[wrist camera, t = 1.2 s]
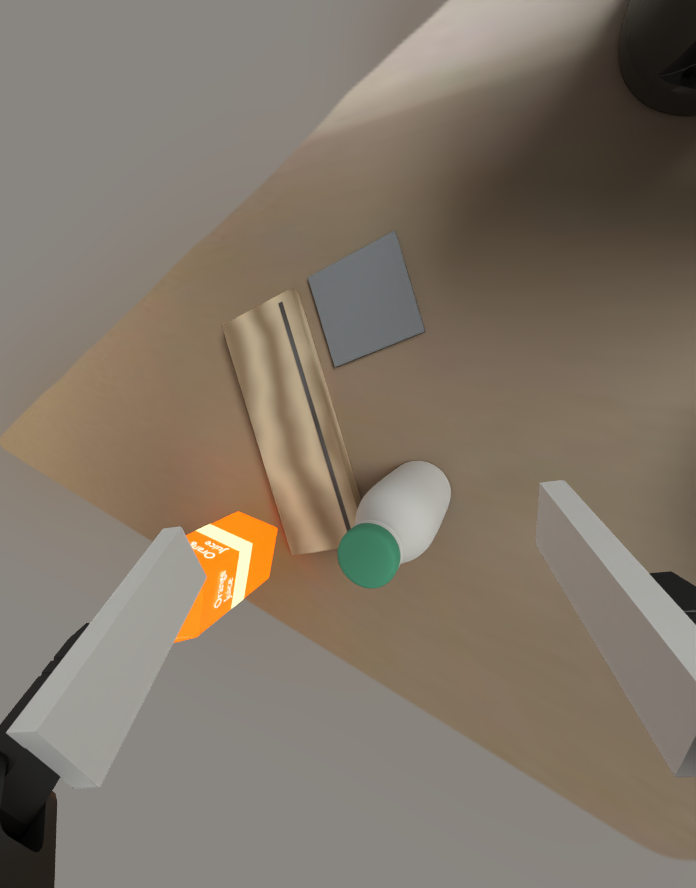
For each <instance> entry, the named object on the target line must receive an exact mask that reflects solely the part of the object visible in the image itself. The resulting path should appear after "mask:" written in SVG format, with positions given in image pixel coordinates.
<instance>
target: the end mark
mask: <svg viewBox="0 0 696 888" xmlns="http://www.w3.org/2000/svg"><path fill="white" fill-rule="evenodd" d="M308 280H309V283H310V286H311V290H312V293H313V296H314V300H315V303H316V306H317V310H318V313H319V316H320V320H321V323H322V326H323V330H324V333H325V336H326V340H327V343H328V346H329V350H330V353H331V356H332V360H333V363H334V366H335V367H338V366H341V365H343V364H346V363H348V362H351V361H353V360H356V359H358V358H361V357H363V356H366V355H368V354H371V353H373V352H376V351H378V350H381V349H383V348H386V347H388V346H391V345H393V344H396V343H398V342H401V341H403V340H406V339H408V338H411V337H413V336H416V335H418V334H421V333H423V332H425V330H424V326H423V323H422V319H421V316H420V313H419V309H418V306H417V302H416V299H415V296H414V292H413V289H412V286H411V282H410V279H409V275H408V272H407V269H406V265H405V262H404V258H403V255H402V252H401V248H400V245H399V241H398V238H397V235H396V232H395V230H394V231H393V232H391V233H389V234H387V235H385V236H383V237H381V238H380V239H378V240H376V241H374V242H372V243H370V244H369V245H367V246H365V247H363V248H361V249H359V250H357V251H356V252H354V253H352V254H350V255H348V256H346V257H345V258H343V259H341V260H339V261H337V262H335V263H334V264H332V265H330V266H328V267H326V268H324V269H322V270H321V271H319V272H317V273H315V274H313V275H311V276H310V277H308Z"/></svg>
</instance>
